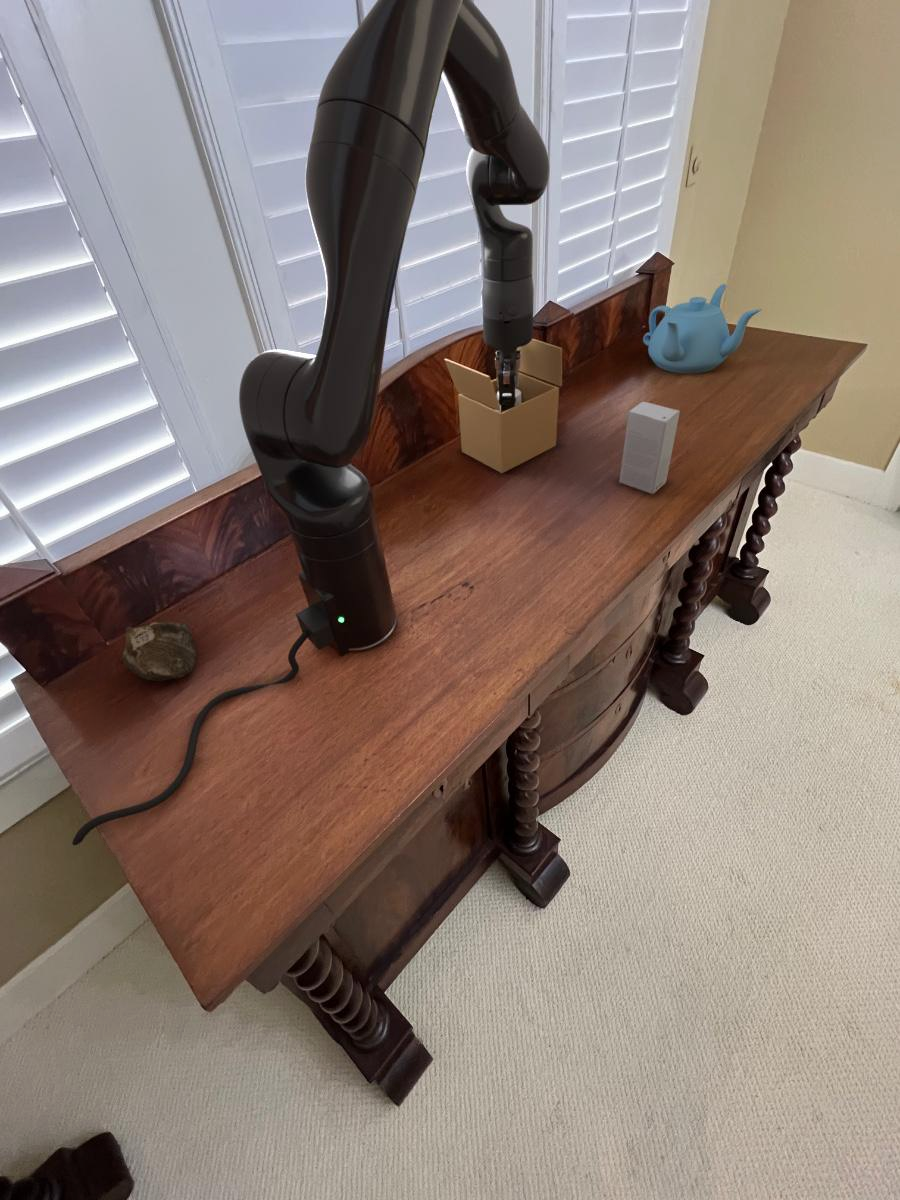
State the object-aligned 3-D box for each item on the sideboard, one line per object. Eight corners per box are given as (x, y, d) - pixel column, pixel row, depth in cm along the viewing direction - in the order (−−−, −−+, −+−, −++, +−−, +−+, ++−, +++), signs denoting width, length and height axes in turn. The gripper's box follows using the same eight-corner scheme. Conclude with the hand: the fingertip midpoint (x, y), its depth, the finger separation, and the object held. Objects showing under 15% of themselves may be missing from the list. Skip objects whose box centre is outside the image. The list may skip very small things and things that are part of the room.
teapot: (748, 372, 117) (766, 307, 109) (657, 383, 117) (669, 318, 108) (711, 342, 130) (725, 281, 121) (629, 351, 129) (637, 291, 121)
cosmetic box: (666, 483, 91) (681, 410, 83) (652, 495, 89) (666, 422, 81) (631, 471, 94) (643, 400, 86) (617, 482, 92) (627, 410, 84)
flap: (501, 409, 89) (499, 411, 89) (458, 390, 95) (457, 391, 95) (489, 376, 84) (488, 377, 84) (445, 358, 90) (444, 359, 90)
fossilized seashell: (118, 631, 72) (119, 699, 66) (127, 595, 68) (129, 664, 62) (184, 634, 76) (190, 698, 70) (196, 600, 72) (203, 665, 67)
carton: (501, 473, 96) (500, 373, 85) (461, 451, 103) (455, 356, 91) (558, 444, 102) (564, 347, 91) (517, 425, 108) (518, 332, 97)
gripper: (485, 294, 92) (488, 398, 104) (479, 326, 82) (483, 437, 93) (533, 292, 91) (531, 397, 103) (533, 324, 81) (530, 436, 92)
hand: (508, 416), depth 98 cm, fingers closed on supplement bottle, 4 cm apart
